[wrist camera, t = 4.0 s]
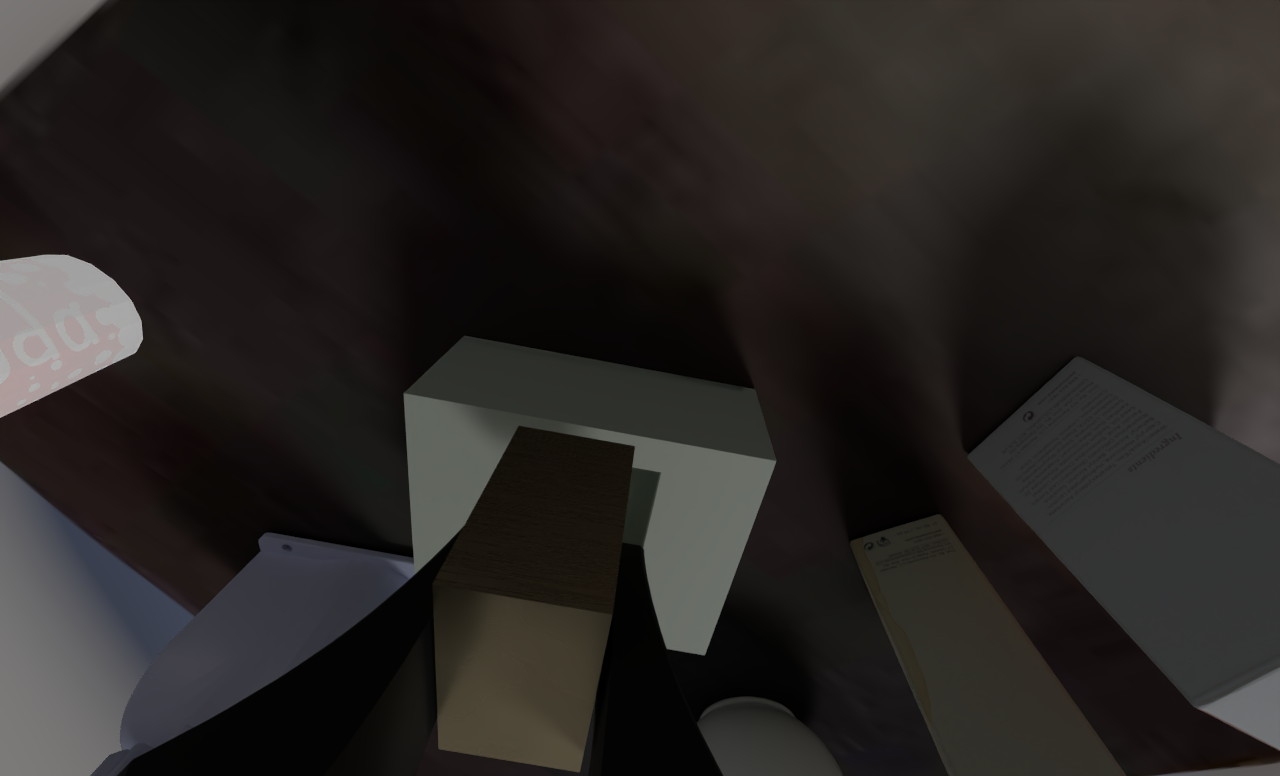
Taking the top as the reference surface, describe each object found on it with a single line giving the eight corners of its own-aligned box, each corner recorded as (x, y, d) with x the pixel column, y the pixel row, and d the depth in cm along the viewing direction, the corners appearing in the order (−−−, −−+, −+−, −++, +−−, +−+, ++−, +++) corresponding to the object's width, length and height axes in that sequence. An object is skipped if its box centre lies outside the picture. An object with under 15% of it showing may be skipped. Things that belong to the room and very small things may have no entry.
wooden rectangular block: (510, 565, 15) (438, 748, 10) (518, 425, 13) (432, 584, 8) (608, 582, 15) (579, 771, 10) (635, 446, 13) (612, 614, 8)
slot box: (463, 520, 25) (416, 604, 20) (464, 335, 20) (403, 393, 16) (700, 562, 25) (704, 655, 20) (754, 389, 20) (776, 460, 16)
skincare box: (846, 537, 24) (988, 879, 13) (944, 508, 22) (1192, 858, 12) (881, 620, 26) (1025, 968, 15) (971, 598, 25) (1197, 957, 14)
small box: (960, 453, 21) (1187, 709, 12) (1075, 349, 19) (1477, 567, 9) (1093, 532, 22) (1389, 817, 13) (1216, 445, 20) (1685, 718, 11)
